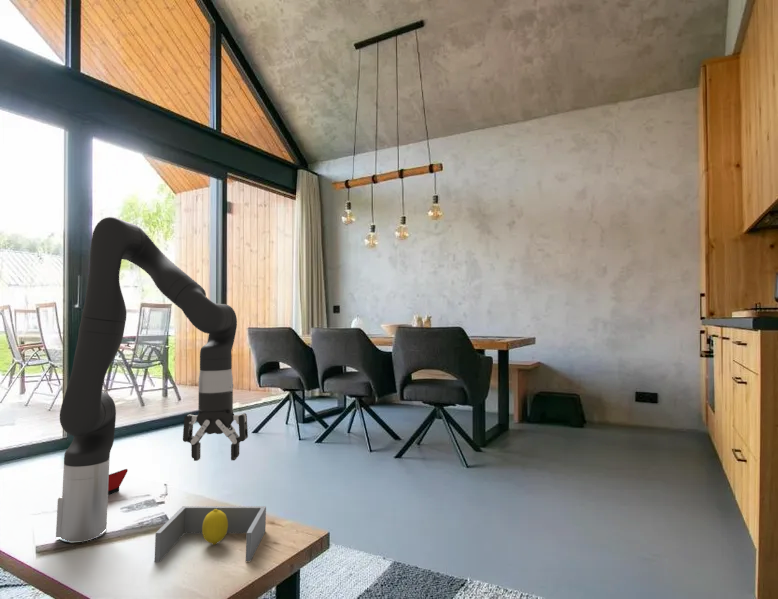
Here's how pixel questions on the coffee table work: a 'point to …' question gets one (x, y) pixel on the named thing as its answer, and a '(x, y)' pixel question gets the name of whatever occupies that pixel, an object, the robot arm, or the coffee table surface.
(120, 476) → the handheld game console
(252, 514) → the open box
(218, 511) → the lemon
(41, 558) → the coffee table surface
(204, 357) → the robot arm
